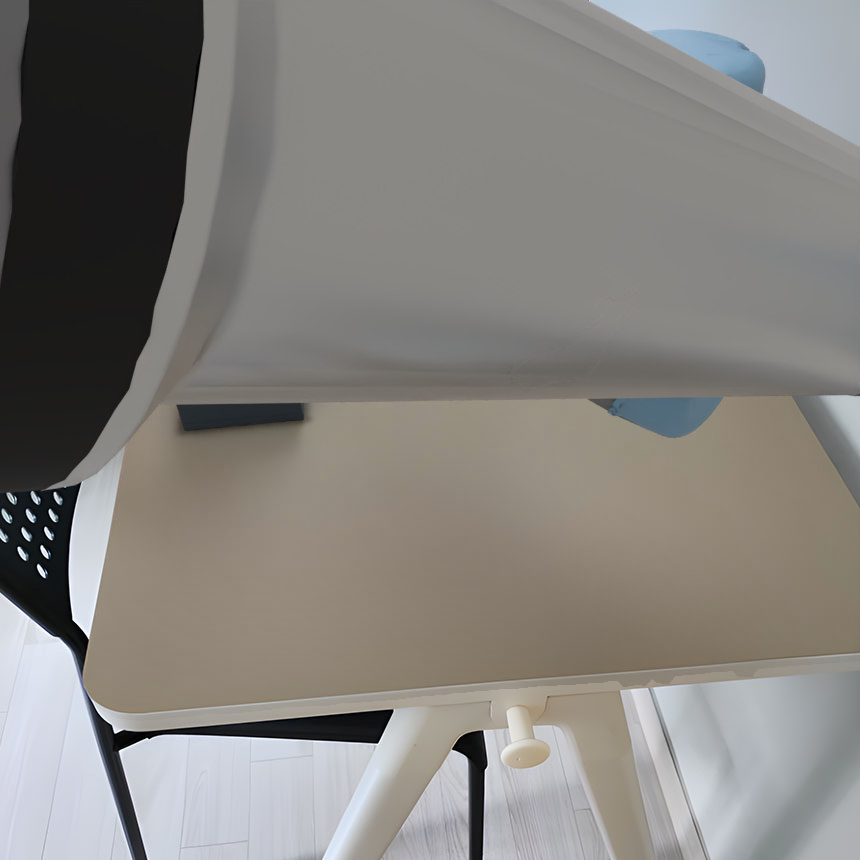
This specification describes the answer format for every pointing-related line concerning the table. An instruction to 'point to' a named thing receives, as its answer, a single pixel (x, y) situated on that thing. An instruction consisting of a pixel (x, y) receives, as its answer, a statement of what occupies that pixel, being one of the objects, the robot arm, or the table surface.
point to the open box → (237, 414)
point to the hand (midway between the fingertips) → (269, 169)
